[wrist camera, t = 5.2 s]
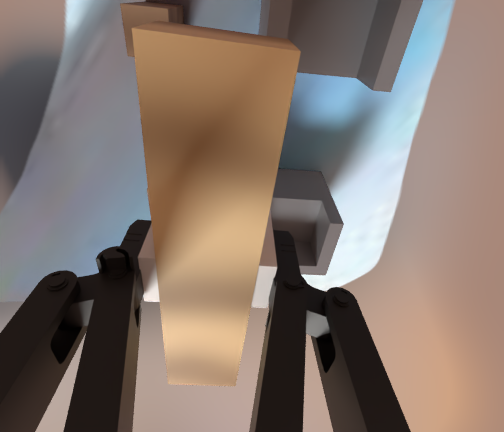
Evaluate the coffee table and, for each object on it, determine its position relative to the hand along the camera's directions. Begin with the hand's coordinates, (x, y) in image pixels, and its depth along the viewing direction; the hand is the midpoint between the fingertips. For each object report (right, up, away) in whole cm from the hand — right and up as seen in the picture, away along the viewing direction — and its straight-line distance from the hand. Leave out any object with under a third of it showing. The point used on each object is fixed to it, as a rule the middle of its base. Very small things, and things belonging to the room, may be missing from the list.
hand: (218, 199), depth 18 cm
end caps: (+6, +9, +12) cm, 16 cm away
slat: (0, -2, -3) cm, 4 cm away
